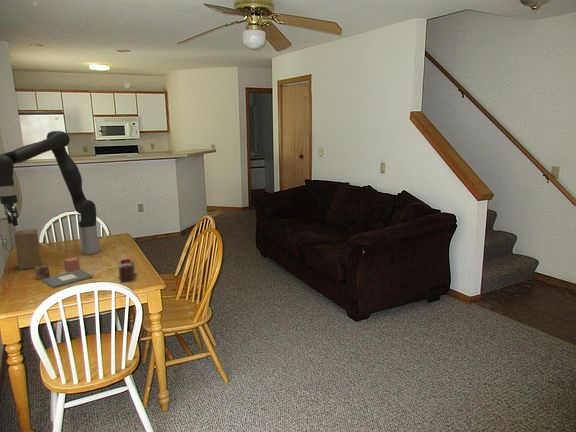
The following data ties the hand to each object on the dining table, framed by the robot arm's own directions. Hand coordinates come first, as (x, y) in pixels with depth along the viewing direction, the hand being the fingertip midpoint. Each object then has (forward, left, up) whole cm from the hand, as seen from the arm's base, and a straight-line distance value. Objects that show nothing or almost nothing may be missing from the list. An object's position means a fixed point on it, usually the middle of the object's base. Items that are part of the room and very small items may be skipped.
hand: (13, 224), depth 217 cm
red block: (-20, +19, -26) cm, 38 cm away
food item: (-33, +53, -26) cm, 68 cm away
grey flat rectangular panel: (-12, +33, -26) cm, 44 cm away
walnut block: (-5, +20, -26) cm, 33 cm away
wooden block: (-7, -5, -26) cm, 27 cm away
